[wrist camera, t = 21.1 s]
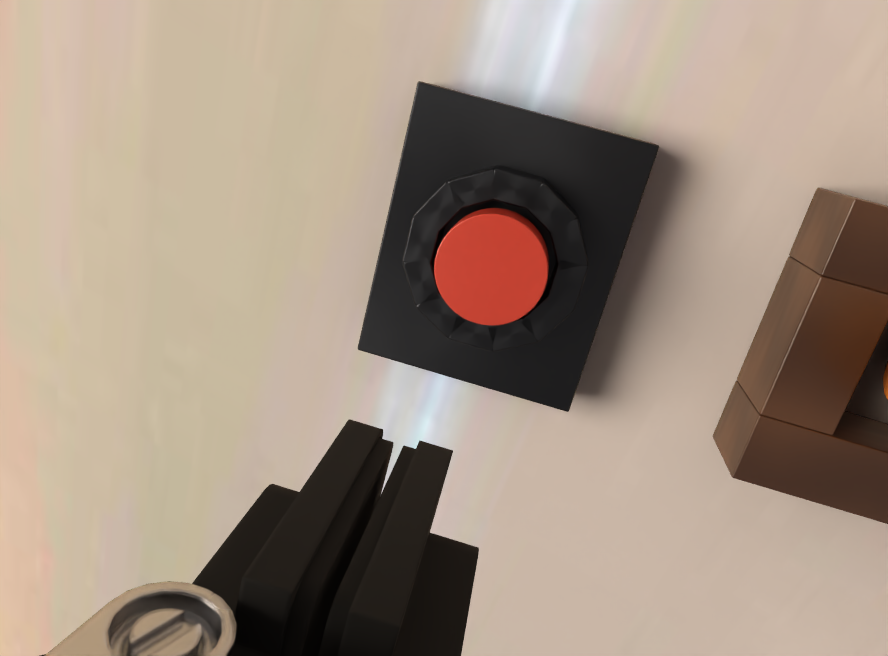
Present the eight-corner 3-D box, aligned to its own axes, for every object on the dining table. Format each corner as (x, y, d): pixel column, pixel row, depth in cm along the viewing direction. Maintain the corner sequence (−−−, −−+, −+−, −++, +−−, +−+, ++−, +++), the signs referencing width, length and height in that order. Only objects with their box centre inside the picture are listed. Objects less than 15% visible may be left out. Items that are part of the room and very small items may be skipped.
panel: (427, 83, 31) (408, 79, 27) (652, 143, 30) (666, 147, 26) (369, 335, 35) (345, 363, 31) (567, 394, 34) (569, 429, 30)
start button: (456, 194, 28) (449, 200, 27) (562, 224, 28) (562, 231, 26) (429, 297, 30) (422, 308, 28) (531, 326, 29) (529, 339, 28)
